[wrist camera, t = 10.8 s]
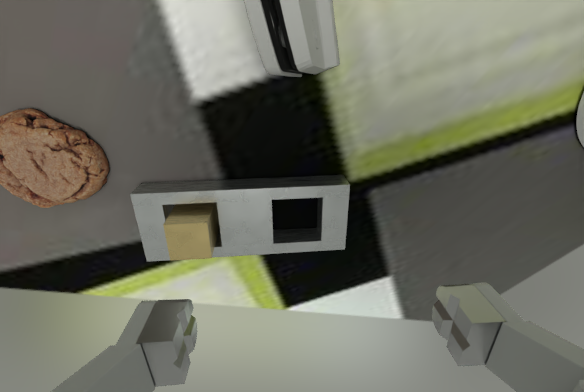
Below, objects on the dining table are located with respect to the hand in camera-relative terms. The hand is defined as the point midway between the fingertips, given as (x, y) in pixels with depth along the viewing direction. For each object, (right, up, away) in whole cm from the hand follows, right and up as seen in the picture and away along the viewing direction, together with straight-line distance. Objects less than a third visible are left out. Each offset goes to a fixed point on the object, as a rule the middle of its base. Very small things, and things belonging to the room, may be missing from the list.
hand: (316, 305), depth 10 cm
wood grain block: (-11, +2, +24) cm, 27 cm away
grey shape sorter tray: (-6, +2, +24) cm, 25 cm away
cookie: (-25, +8, +20) cm, 33 cm away
